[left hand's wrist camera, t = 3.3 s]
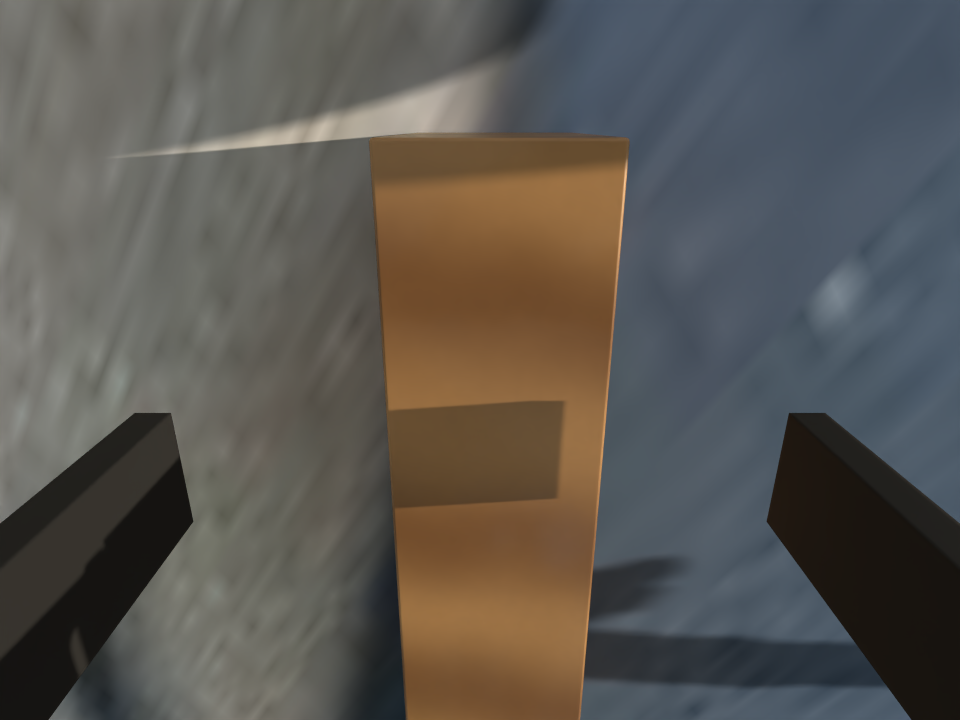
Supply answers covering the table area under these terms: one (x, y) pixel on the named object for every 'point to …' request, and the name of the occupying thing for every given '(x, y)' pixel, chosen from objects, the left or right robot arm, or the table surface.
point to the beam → (496, 407)
